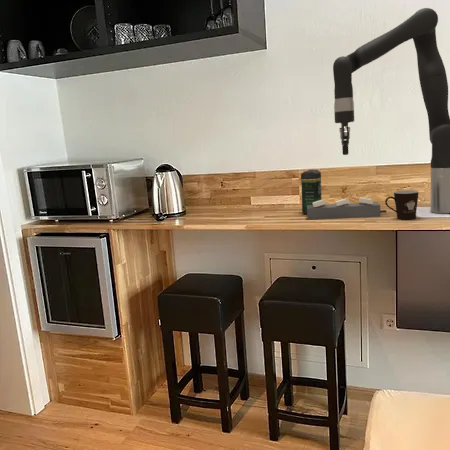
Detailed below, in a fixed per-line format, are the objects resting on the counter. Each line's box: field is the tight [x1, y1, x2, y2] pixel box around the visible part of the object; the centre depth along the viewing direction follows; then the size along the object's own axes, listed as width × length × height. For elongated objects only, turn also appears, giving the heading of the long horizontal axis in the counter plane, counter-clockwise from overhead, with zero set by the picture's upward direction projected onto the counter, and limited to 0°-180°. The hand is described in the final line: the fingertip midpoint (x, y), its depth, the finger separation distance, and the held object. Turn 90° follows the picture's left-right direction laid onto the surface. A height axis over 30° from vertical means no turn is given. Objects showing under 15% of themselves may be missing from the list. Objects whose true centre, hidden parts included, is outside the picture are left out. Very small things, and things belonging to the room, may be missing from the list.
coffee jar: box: [300, 169, 323, 215], centre depth 205 cm, size 10×8×19 cm
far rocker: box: [313, 198, 327, 207], centre depth 193 cm, size 5×4×2 cm
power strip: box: [306, 201, 388, 221], centre depth 194 cm, size 31×8×5 cm, turn 80°
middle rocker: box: [335, 197, 351, 206], centre depth 192 cm, size 5×4×2 cm
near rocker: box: [358, 196, 375, 205], centre depth 190 cm, size 5×4×2 cm
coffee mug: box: [385, 189, 420, 221], centre depth 180 cm, size 12×9×10 cm
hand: (345, 154), depth 193 cm, fingers closed
